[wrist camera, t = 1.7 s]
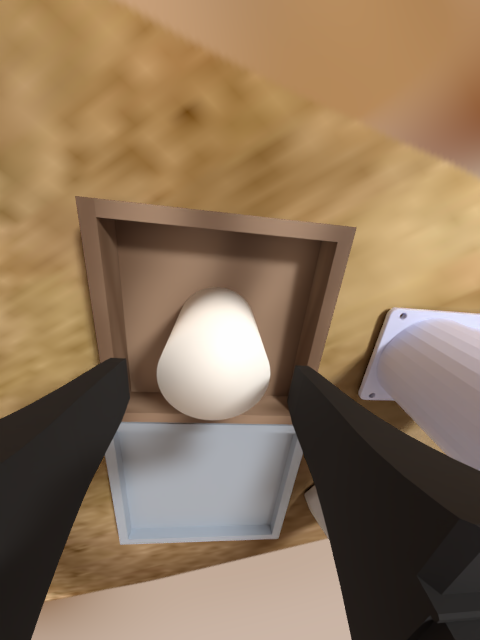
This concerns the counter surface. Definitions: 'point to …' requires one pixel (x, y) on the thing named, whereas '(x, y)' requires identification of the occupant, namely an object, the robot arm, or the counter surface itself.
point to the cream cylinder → (214, 357)
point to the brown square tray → (201, 273)
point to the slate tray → (201, 480)
